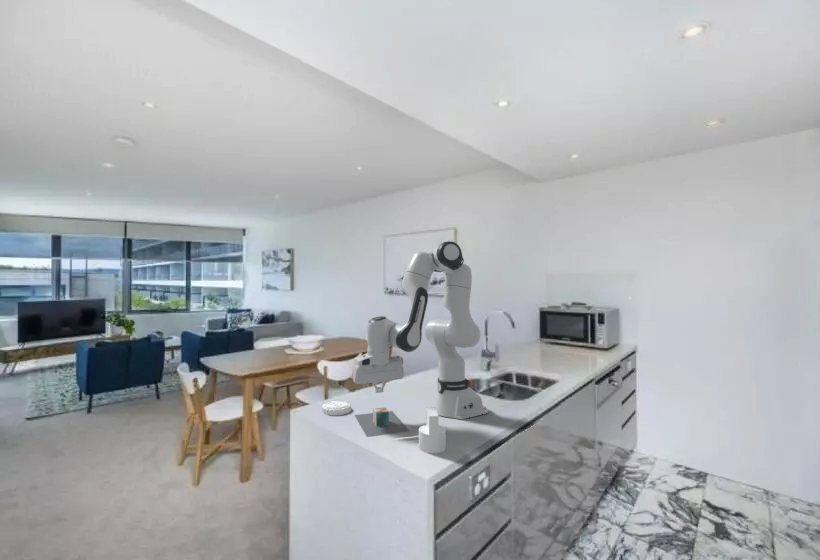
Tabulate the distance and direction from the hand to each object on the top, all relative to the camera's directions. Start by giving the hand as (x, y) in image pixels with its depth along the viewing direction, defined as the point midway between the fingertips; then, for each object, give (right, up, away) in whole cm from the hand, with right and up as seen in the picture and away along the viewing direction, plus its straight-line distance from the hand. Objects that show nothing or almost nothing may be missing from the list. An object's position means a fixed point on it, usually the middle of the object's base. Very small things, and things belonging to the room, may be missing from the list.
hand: (379, 392), depth 153 cm
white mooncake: (-19, -12, +9) cm, 24 cm away
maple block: (0, -8, -3) cm, 8 cm away
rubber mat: (+1, -11, -5) cm, 12 cm away
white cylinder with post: (+20, -11, -25) cm, 34 cm away
